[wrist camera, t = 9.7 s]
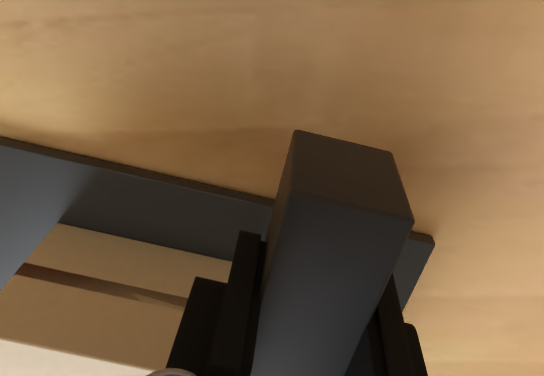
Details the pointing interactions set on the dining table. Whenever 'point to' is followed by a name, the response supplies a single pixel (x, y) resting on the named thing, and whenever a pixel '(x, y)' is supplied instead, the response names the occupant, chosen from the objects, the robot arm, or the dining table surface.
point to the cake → (116, 260)
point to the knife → (327, 254)
